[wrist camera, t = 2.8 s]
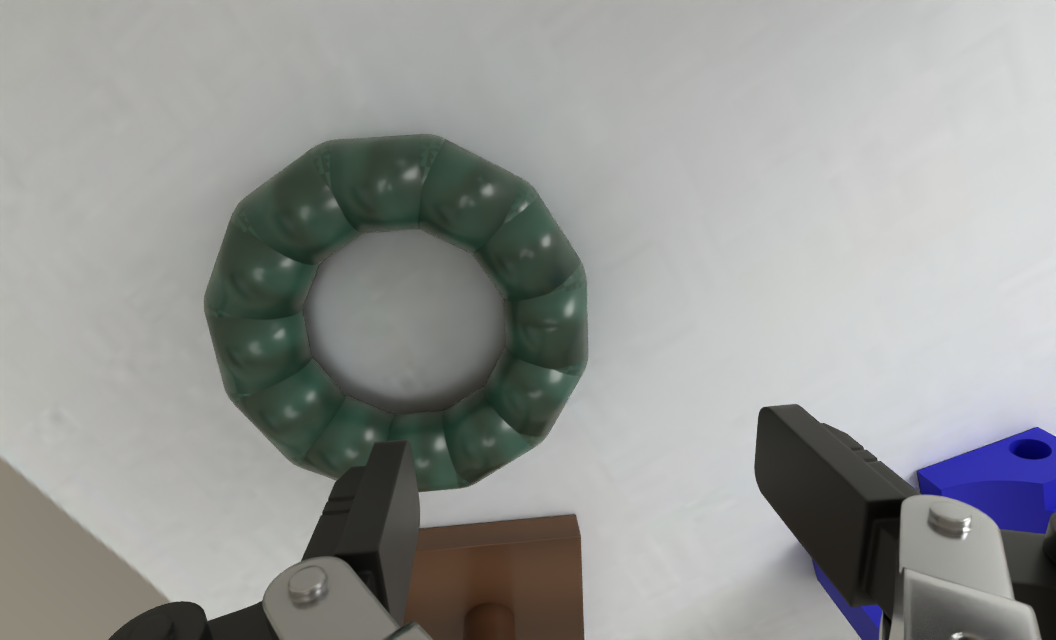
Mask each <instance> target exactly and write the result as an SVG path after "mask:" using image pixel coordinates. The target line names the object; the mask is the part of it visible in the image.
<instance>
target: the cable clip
mask: <svg viewBox="0 0 1056 640" xmlns="http://www.w3.org/2000/svg"><path fill="white" fill-rule="evenodd" d="M917 473H918V478H919V484H920V490H921V494H922V495H937V496H943V497H948V498H951V499H955V500H958V501H961V502H963V503H966V504H968V505H970V506H972V507H974V508H976V509H978V510H980V511H981V512H983V513H985V514H986V515H987V516H988V517H990V518H991V519H992V520H993V521H994V522H995V523H996V524H997V526H998V527H999V529H1004V530H1013V531H1022V532H1031V533H1040V534H1046V530H1047V527H1048V523H1049V520H1050V517H1051V515H1052V514H1053V513H1055V512H1056V437H1055V436H1053V435H1052V434H1050V433H1048V432H1046V431H1044V430H1042V429H1040V428H1038V427H1037V428H1034V429H1031V430H1029V431H1026V432H1023V433H1020V434H1018V435H1015V436H1012V437H1009V438H1007V439H1004V440H1001V441H998V442H996V443H993V444H990V445H987V446H985V447H982V448H979V449H976V450H974V451H971V452H968V453H965V454H963V455H960V456H957V457H954V458H952V459H949V460H946V461H943V462H941V463H938V464H935V465H932V466H930V467H927V468H924V469H921V470H919V471H917ZM812 561H813V565H814V569H815V572H816V576H817V580H818V581H819V582H820V584H821V585H822V586H823V588H824V589H825V590H826V592H827V593H828V594H829V596H830V597H831V599H832V600H833V601H834V603H835V604H836V605H837V607H838V608H839V609H840V611H841V612H842V613H843V615H844V616H845V617H846V619H847V620H848V622H849V623H850V624H851V626H852V627H853V628H854V630H855V631H856V632H857V634H858V635H859V636H860V638H861V639H862V640H879V631H880V622H881V617H882V609H881V608H880V607H879V606H878V605H869V606H860V607H852V608H851V607H850V606H849V605H848V603H847V602H846V601H845V600H844V598H843V597H842V596H841V594H840V593H839V592H838V591H837V589H836V588H835V587H834V585H833V584H832V583H831V582H830V580H829V579H828V578H827V576H826V575H825V574H824V573H823V571H822V570H821V569H820V568H819V566H818V565H817V564H816V562H815V561H814V560H813V559H812Z"/></svg>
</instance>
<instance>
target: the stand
mask: <svg viewBox="0 0 1056 640" xmlns="http://www.w3.org/2000/svg"><path fill="white" fill-rule="evenodd" d="M410 621H414V622H416V623H418V624H419V625H420V626H421V627H422V628H423V629H424V630H425V631H426V632H427V633H428V635H429V636H430V637H431V638H432V639H433V640H584V620H583V589H582V559H581V535H580V530H579V526H578V522H577V517H576V515H564V516H554V517H543V518H533V519H522V520H511V521H501V522H490V523H480V524H469V525H458V526H448V527H437V528H427V529H419V533H418V538H417V544H416V550H415V556H414V562H413V568H412V574H411V580H410V586H409V592H408V598H407V604H406V610H405V616H404V622H403V626H404V625H405V624H407V623H408V622H410Z"/></svg>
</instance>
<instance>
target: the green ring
mask: <svg viewBox="0 0 1056 640" xmlns="http://www.w3.org/2000/svg"><path fill="white" fill-rule="evenodd" d="M412 229H421V230H423V231H425V232H427V233H429V234H432V235H434V236H436V237H438V238H440V239H442V240H444V241H446V242H449V243H451V244H453V245H455V246H457V247H459V248H461V249H463V250H466V251H468V252H470V253H472V254H473V256H474V257H475V259H476V260H477V261H478V263H479V264H480V266H481V267H482V268H483V270H484V271H485V273H486V274H487V275H488V277H489V278H490V280H491V281H492V283H493V284H494V285H495V287H496V288H497V290H498V291H499V292H500V294H501V295H502V297H503V306H504V319H505V332H506V347H505V348H504V350H503V352H502V354H501V356H500V358H499V360H498V362H497V364H496V366H495V368H494V370H493V372H492V374H491V376H490V377H489V379H488V381H487V383H486V385H485V386H483V387H482V388H480V389H478V390H477V391H475V392H474V393H472V394H471V395H469V396H467V397H466V398H464V399H463V400H461V401H460V402H458V403H456V404H455V405H453V406H452V407H450V408H449V409H447V410H445V411H433V412H421V413H409V414H398V415H394V414H392V413H389V412H387V411H384V410H382V409H379V408H377V407H374V406H371V405H369V404H366V403H364V402H361V401H359V400H356V399H354V398H351V397H349V396H346V395H345V394H344V393H343V392H342V391H341V389H340V388H339V387H338V386H337V385H336V384H335V383H334V381H333V380H332V379H331V378H330V377H329V376H328V375H327V373H326V372H325V371H324V370H323V369H322V368H321V367H320V365H319V364H318V363H317V362H316V361H315V360H314V359H313V358H312V356H311V351H310V346H309V341H308V336H307V331H306V326H305V321H304V316H303V311H302V307H303V304H304V302H305V299H306V297H307V294H308V292H309V289H310V287H311V284H312V281H313V279H314V276H315V274H316V271H317V269H318V266H319V264H320V262H322V261H323V260H325V259H326V258H328V257H329V256H330V255H332V254H333V253H335V252H336V251H338V250H339V249H340V248H342V247H343V246H345V245H346V244H348V243H349V242H350V241H352V240H353V239H355V238H356V237H358V236H359V235H360V234H362V233H368V232H383V231H397V230H412ZM204 311H205V315H206V319H207V323H208V327H209V331H210V335H211V338H212V342H213V346H214V350H215V354H216V358H217V362H218V365H219V369H220V373H221V377H222V381H223V385H224V388H225V391H226V393H227V395H228V397H229V398H230V400H231V401H232V402H233V404H234V405H235V406H236V407H237V408H238V409H239V410H240V411H241V412H242V413H243V414H244V415H245V416H246V417H247V418H248V419H249V420H250V421H251V422H252V423H253V424H254V425H255V426H256V427H257V428H258V429H259V430H260V431H261V432H262V433H263V435H264V436H265V437H266V438H267V439H268V440H269V441H270V442H271V443H272V444H273V445H274V446H275V447H276V448H277V449H278V450H279V451H280V452H281V453H282V454H283V455H284V456H285V457H286V458H287V459H288V460H289V461H290V462H292V463H293V464H295V465H297V466H299V467H301V468H303V469H306V470H309V471H312V472H314V473H317V474H320V475H323V476H326V477H328V478H331V479H334V480H338V479H339V478H340V477H341V476H342V475H343V474H344V473H346V472H347V471H348V470H349V469H350V468H351V467H358V466H366V464H367V462H368V459H369V456H370V453H371V451H372V448H373V445H374V443H376V442H385V441H395V440H406V439H408V440H409V441H410V444H411V448H412V454H413V461H414V468H415V474H416V481H417V488H418V492H426V491H437V490H448V489H459V488H465V487H469V486H471V485H473V484H475V483H477V482H479V481H480V480H482V479H484V478H485V477H487V476H489V475H490V474H492V473H493V472H495V471H497V470H498V469H500V468H502V467H503V466H505V465H506V464H508V463H510V462H511V461H513V460H515V459H516V458H518V457H520V456H521V455H523V454H524V453H526V452H528V451H529V450H531V449H533V448H534V447H536V446H537V445H538V444H540V443H541V442H542V441H543V440H544V439H545V438H546V436H547V435H548V434H549V432H550V430H551V428H552V427H553V425H554V423H555V421H556V420H557V418H558V416H559V414H560V413H561V411H562V409H563V407H564V406H565V404H566V402H567V400H568V399H569V397H570V395H571V393H572V392H573V390H574V388H575V386H576V384H577V383H578V381H579V379H580V377H581V376H582V374H583V372H584V370H585V367H586V364H587V360H588V323H587V282H586V274H585V270H584V267H583V264H582V262H581V261H580V259H579V257H578V255H577V254H576V252H575V251H574V249H573V248H572V246H571V245H570V243H569V241H568V240H567V238H566V237H565V235H564V234H563V232H562V230H561V229H560V227H559V226H558V224H557V223H556V221H555V220H554V218H553V216H552V215H551V213H550V212H549V210H548V209H547V207H546V205H545V204H544V202H543V201H542V199H541V198H540V196H539V194H538V193H537V192H536V190H535V189H534V188H533V187H532V186H531V185H530V184H529V183H528V182H526V181H525V180H523V179H522V178H520V177H518V176H516V175H514V174H512V173H510V172H508V171H506V170H504V169H502V168H500V167H498V166H496V165H494V164H492V163H491V162H489V161H487V160H485V159H483V158H481V157H479V156H477V155H475V154H473V153H471V152H469V151H467V150H465V149H463V148H461V147H459V146H457V145H455V144H453V143H451V142H449V141H448V140H446V139H443V138H441V137H438V136H433V135H422V134H421V135H405V136H389V137H372V138H356V139H340V140H330V141H327V142H324V143H321V144H319V145H317V146H315V147H314V148H312V149H310V150H309V151H308V152H306V153H305V154H304V155H302V156H301V157H300V158H298V159H297V160H295V161H294V162H293V163H291V164H290V165H289V166H287V167H286V168H285V169H283V170H282V171H280V172H279V173H278V174H276V175H275V176H274V177H272V178H271V179H270V180H268V181H267V182H265V183H264V184H263V185H261V186H260V187H259V188H257V189H256V190H255V191H253V192H252V193H250V194H249V195H248V196H246V197H245V198H244V199H243V200H242V201H241V202H240V203H239V204H238V205H237V207H236V208H235V210H234V212H233V213H232V216H231V219H230V221H229V224H228V227H227V230H226V233H225V236H224V239H223V242H222V245H221V248H220V251H219V254H218V256H217V259H216V262H215V265H214V268H213V271H212V274H211V277H210V280H209V283H208V286H207V289H206V292H205V295H204Z"/></svg>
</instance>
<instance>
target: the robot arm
mask: <svg viewBox="0 0 1056 640" xmlns="http://www.w3.org/2000/svg"><path fill="white" fill-rule="evenodd" d="M754 468H755V477H756V481H757V484H758V487H759V489H760V491H761V493H762V494H763V496H764V497H765V498H766V500H767V501H768V502H769V504H770V505H771V506H772V507H773V509H774V510H775V511H776V512H777V514H778V515H779V516H780V518H781V519H782V520H783V521H784V523H785V524H786V525H787V527H788V528H789V529H790V530H791V532H792V533H793V534H794V536H795V537H796V538H797V539H798V541H799V542H800V543H801V544H802V546H803V547H804V548H805V550H806V551H807V552H808V553H809V555H810V556H811V557H812V559H813V560H814V561H815V562H816V564H817V565H818V566H819V568H820V569H821V570H822V571H823V573H824V574H825V575H826V576H827V578H828V579H829V580H830V582H831V583H832V584H833V585H834V587H835V588H836V589H837V591H838V592H839V593H840V594H841V596H842V597H843V598H844V600H845V601H846V602H847V603H848V605H849V606H850V607H851V608H852V607H860V606H869V605H878V606H879V607H880V608H881V609H882V617H881V622H880V631H879V640H1056V512H1055V513H1053V514H1052V515H1051V517H1050V520H1049V523H1048V527H1047V530H1046V534H1040V533H1031V532H1022V531H1013V530H1004V529H999V527H998V526H997V524H996V523H995V522H994V521H993V520H992V519H991V518H990V517H988V516H987V515H986V514H985V513H983V512H981V511H980V510H978V509H976V508H974V507H972V506H970V505H968V504H966V503H963V502H961V501H958V500H955V499H951V498H948V497H943V496H937V495H922V494H920V493H919V492H918V491H917V490H915V489H914V488H913V487H912V486H911V485H909V484H908V483H907V482H906V481H904V480H903V479H902V478H901V477H899V476H898V475H897V474H896V473H895V472H893V471H892V470H891V469H890V468H888V467H887V466H886V465H885V464H883V463H882V462H881V461H877V458H876V457H875V456H874V455H872V454H871V453H870V452H869V451H868V450H864V448H863V446H861V445H860V444H859V443H858V442H856V441H855V440H854V439H853V438H852V437H850V436H849V435H848V434H846V433H844V432H842V431H840V430H838V429H836V428H833V427H831V426H829V425H827V424H825V423H820V422H819V421H817V420H816V419H815V418H814V417H813V416H811V415H810V414H809V413H808V412H807V411H806V410H804V409H803V408H802V407H801V406H799V405H797V404H791V405H780V406H769V407H763V408H762V409H761V410H760V412H759V416H758V426H757V439H756V452H755V467H754ZM322 513H323V514H322V515H321V516H320V519H319V521H318V523H317V526H316V528H315V530H314V533H313V535H312V537H311V539H310V542H309V544H308V546H307V549H306V551H305V553H304V556H303V558H302V560H301V562H299V563H297V564H294V565H293V566H291V567H289V568H287V569H286V570H284V571H283V572H282V573H280V574H279V575H278V576H277V577H276V578H275V579H274V580H273V581H272V582H271V583H270V585H269V586H268V588H267V589H266V591H265V594H264V596H263V601H261V602H259V603H257V604H255V605H252V606H250V607H247V608H244V609H242V610H239V611H236V612H233V613H230V614H227V615H224V616H221V617H218V618H215V619H212V620H210V621H207V618H206V615H205V612H204V610H203V609H202V608H201V607H200V606H199V605H197V604H195V603H192V602H184V601H181V602H173V603H168V604H164V605H161V606H158V607H155V608H153V609H150V610H148V611H146V612H144V613H142V614H140V615H139V616H137V617H135V618H134V619H132V620H130V621H129V622H128V623H126V624H125V625H124V626H122V627H121V628H120V629H119V630H118V631H117V632H115V633H114V634H113V635H112V636H111V637H110V638H109V640H433V639H432V638H431V637H430V636H429V635H428V633H427V632H426V631H425V630H424V629H423V628H422V627H421V626H420V625H419V624H418V623H416V622H414V621H410V622H408V623H407V624H405V625H404V626H403V622H404V616H405V610H406V604H407V598H408V592H409V586H410V580H411V574H412V568H413V562H414V556H415V550H416V544H417V538H418V533H419V526H420V503H419V495H418V488H417V481H416V474H415V468H414V461H413V454H412V448H411V444H410V441H409V440H408V439H406V440H395V441H385V442H376V443H374V445H373V448H372V451H371V453H370V456H369V459H368V462H367V464H366V466H358V467H351V468H350V469H349V470H348V471H347V472H346V473H344V474H343V475H342V476H341V477H340V478H339V479H338V480H337V481H336V482H335V484H334V486H333V489H332V491H331V493H330V496H329V498H328V502H327V503H326V505H325V507H324V509H323V512H322Z"/></svg>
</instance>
